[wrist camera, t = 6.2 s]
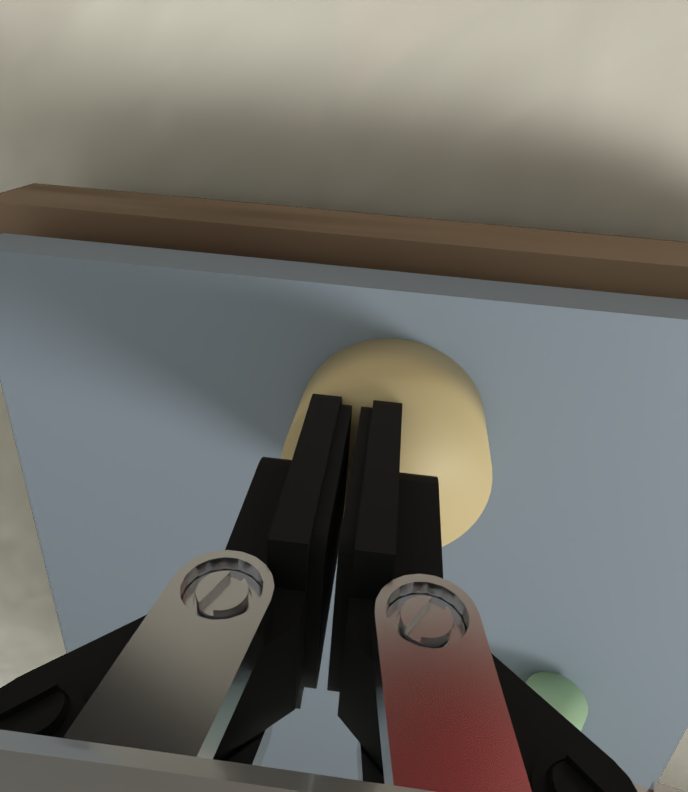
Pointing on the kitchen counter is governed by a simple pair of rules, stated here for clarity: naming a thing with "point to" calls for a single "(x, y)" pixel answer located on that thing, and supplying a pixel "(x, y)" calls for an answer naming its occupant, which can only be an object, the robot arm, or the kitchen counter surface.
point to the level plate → (223, 400)
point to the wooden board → (351, 239)
